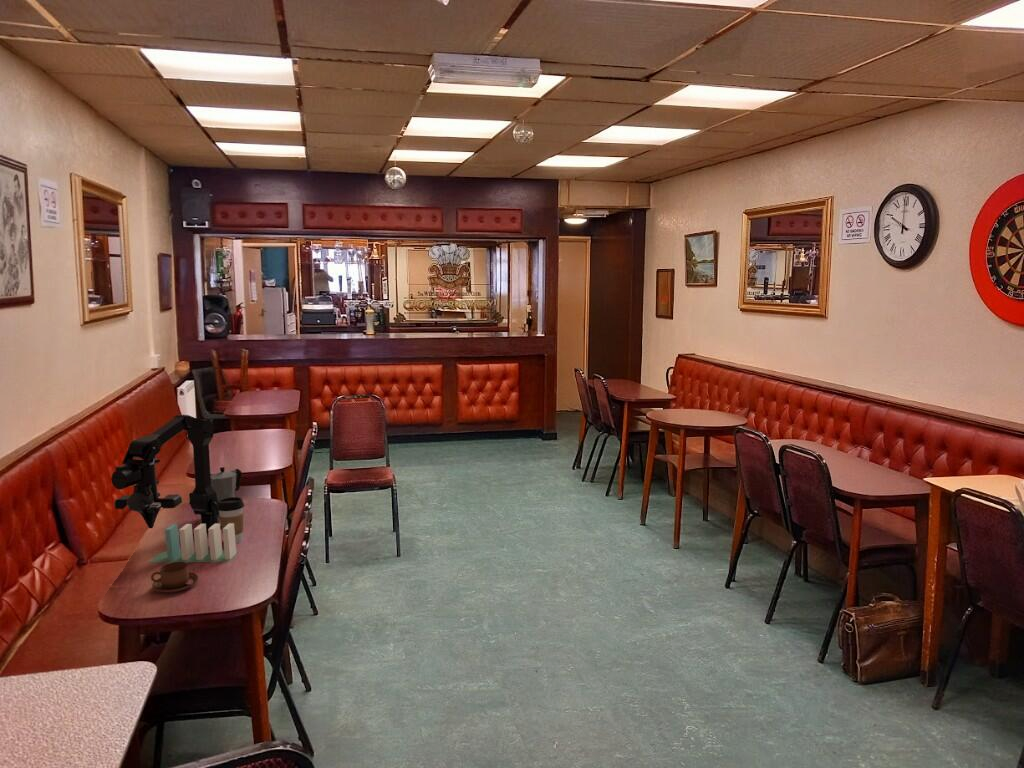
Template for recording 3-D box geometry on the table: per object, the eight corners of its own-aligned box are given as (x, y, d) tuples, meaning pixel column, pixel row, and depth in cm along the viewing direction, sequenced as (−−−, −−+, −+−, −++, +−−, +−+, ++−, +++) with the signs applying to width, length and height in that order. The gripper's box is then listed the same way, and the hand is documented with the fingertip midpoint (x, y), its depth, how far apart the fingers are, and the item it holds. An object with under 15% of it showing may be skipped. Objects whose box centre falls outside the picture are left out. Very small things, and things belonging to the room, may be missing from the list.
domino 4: (217, 553, 233) (214, 523, 231) (222, 553, 233) (219, 523, 231) (210, 559, 228) (208, 529, 226) (215, 559, 228) (213, 529, 226)
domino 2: (189, 553, 233) (186, 523, 231) (194, 553, 233) (191, 523, 231) (182, 560, 228) (179, 529, 227) (187, 560, 228) (184, 529, 226)
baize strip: (160, 554, 235) (160, 552, 235) (239, 553, 234) (239, 551, 234) (148, 564, 227) (148, 562, 227) (229, 563, 226) (229, 561, 226)
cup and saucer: (157, 600, 202) (155, 579, 201) (149, 585, 212) (147, 565, 211) (203, 588, 209) (201, 568, 208) (193, 574, 219) (191, 555, 218)
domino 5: (231, 553, 233) (228, 523, 231) (236, 553, 233) (233, 523, 231) (225, 559, 228) (222, 529, 226) (230, 559, 228) (227, 529, 226)
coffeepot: (221, 521, 264) (217, 473, 261) (202, 518, 268) (198, 470, 266) (253, 508, 278) (249, 462, 275) (235, 505, 282) (231, 460, 279)
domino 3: (203, 553, 233) (200, 523, 231) (208, 553, 233) (205, 523, 231) (196, 560, 228) (193, 529, 226) (201, 559, 228) (198, 529, 226)
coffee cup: (216, 547, 239) (212, 503, 237) (225, 538, 248) (221, 495, 245) (242, 547, 240) (238, 503, 237) (250, 537, 248) (247, 495, 246)
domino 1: (175, 554, 233) (172, 524, 232) (180, 554, 233) (177, 524, 231) (167, 560, 228) (164, 529, 227) (172, 560, 228) (169, 529, 227)
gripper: (101, 488, 219) (107, 537, 222) (163, 487, 219) (168, 537, 221) (121, 477, 230) (126, 524, 232) (180, 476, 230) (185, 524, 232)
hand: (151, 527), depth 229 cm, fingers closed
